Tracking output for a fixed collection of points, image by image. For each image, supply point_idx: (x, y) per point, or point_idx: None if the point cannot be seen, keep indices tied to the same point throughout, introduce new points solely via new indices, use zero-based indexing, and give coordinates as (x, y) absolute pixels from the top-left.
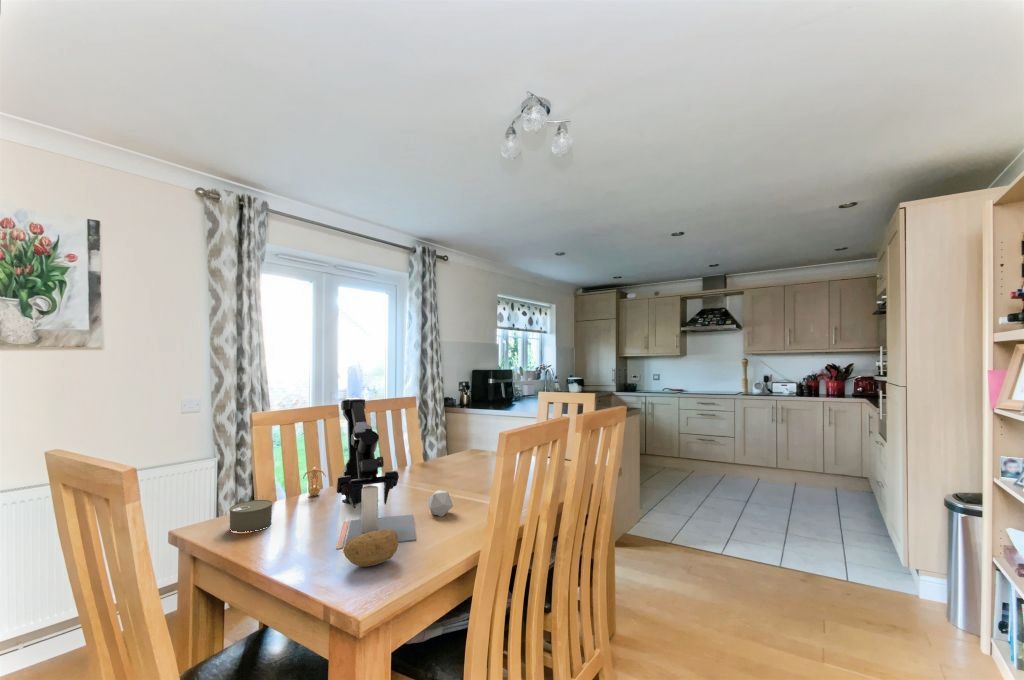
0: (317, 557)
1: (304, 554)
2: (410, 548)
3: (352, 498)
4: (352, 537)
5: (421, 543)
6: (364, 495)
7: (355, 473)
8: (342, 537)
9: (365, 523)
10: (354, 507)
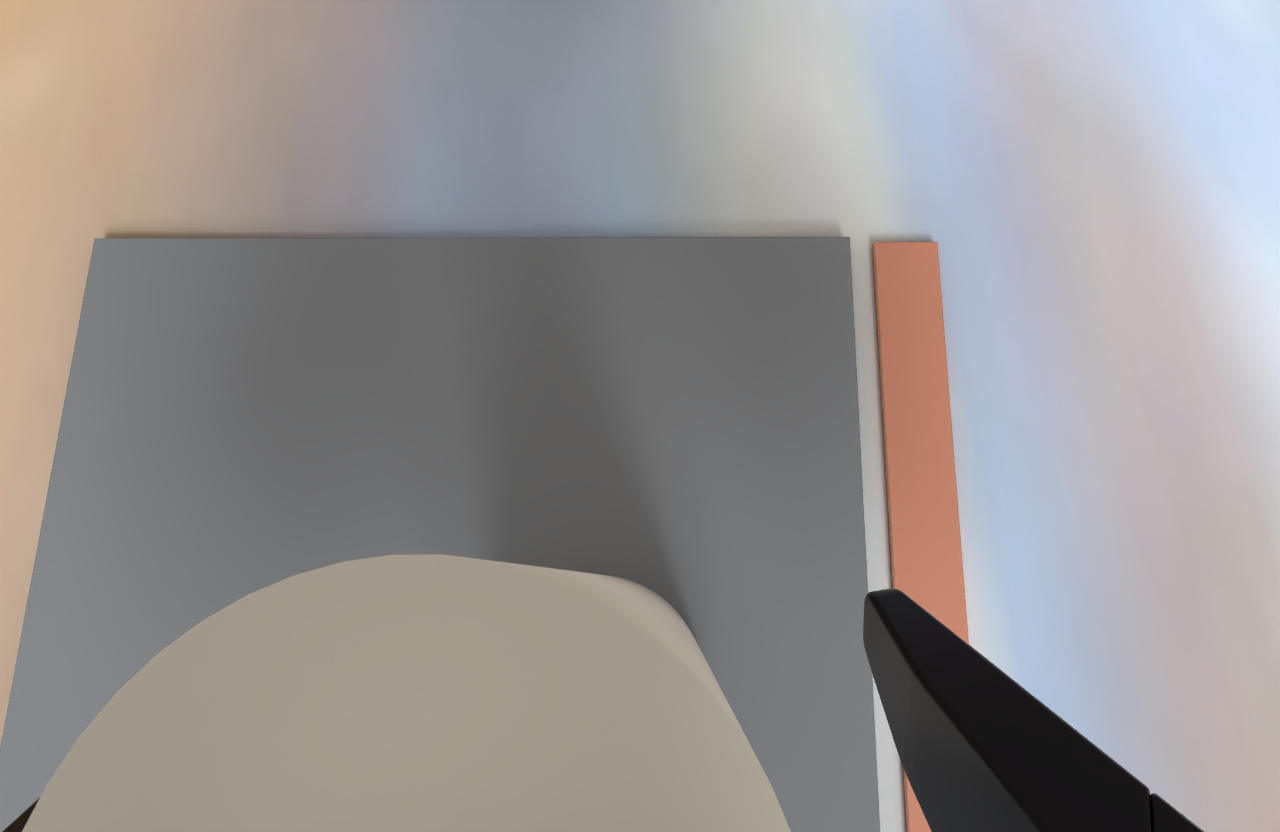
0: (1082, 104)
1: (1241, 205)
2: (203, 81)
3: (1049, 747)
4: (795, 490)
5: (76, 166)
6: (660, 630)
7: None
8: (920, 549)
9: (642, 588)
10: (887, 592)
